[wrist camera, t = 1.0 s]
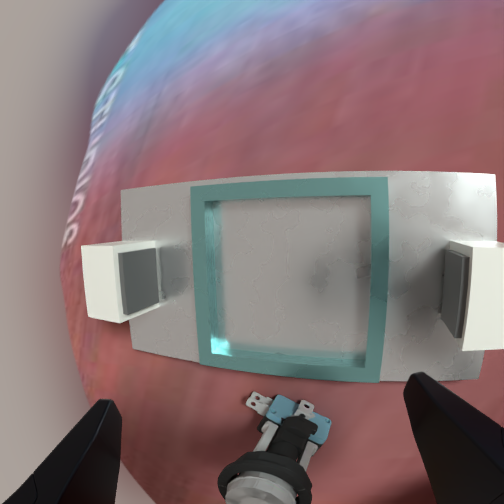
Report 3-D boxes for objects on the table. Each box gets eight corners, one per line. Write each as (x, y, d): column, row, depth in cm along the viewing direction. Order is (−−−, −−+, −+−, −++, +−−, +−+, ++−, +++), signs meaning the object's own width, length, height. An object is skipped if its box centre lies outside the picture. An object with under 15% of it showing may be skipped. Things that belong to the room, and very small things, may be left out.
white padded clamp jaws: (488, 321, 16) (514, 347, 12) (128, 302, 25) (88, 316, 21) (495, 241, 15) (527, 247, 11) (123, 240, 24) (81, 245, 20)
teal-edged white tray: (472, 369, 18) (483, 387, 15) (143, 343, 27) (123, 353, 24) (487, 177, 16) (502, 172, 14) (132, 191, 25) (110, 189, 23)
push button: (241, 412, 24) (179, 492, 15) (268, 364, 23) (205, 445, 13) (313, 450, 22) (277, 542, 13) (348, 405, 21) (325, 505, 12)
